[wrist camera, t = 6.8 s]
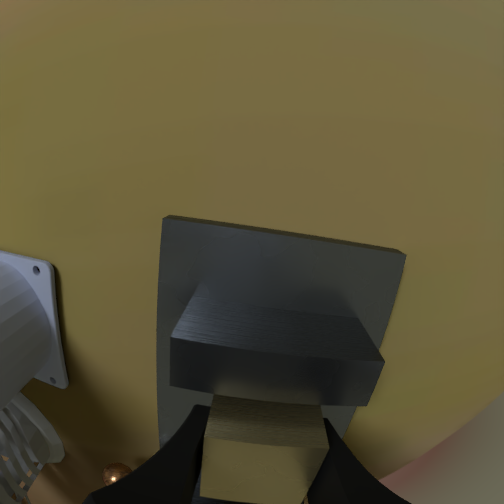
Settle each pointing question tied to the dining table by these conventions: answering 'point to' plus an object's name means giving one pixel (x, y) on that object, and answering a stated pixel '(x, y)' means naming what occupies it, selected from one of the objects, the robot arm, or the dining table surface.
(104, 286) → the dining table surface
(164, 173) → the dining table surface
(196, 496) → the sliding jaw
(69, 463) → the dining table surface
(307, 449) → the brass block
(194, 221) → the vise
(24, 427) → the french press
